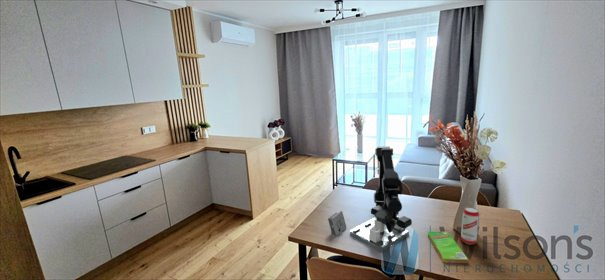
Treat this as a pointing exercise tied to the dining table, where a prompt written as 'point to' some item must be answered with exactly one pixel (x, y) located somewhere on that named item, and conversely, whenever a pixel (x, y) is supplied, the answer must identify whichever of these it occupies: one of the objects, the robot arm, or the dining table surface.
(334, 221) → the electrical switch
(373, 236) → the breaker
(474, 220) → the beer can
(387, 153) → the robot arm
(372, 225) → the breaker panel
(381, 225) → the breaker
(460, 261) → the game box
